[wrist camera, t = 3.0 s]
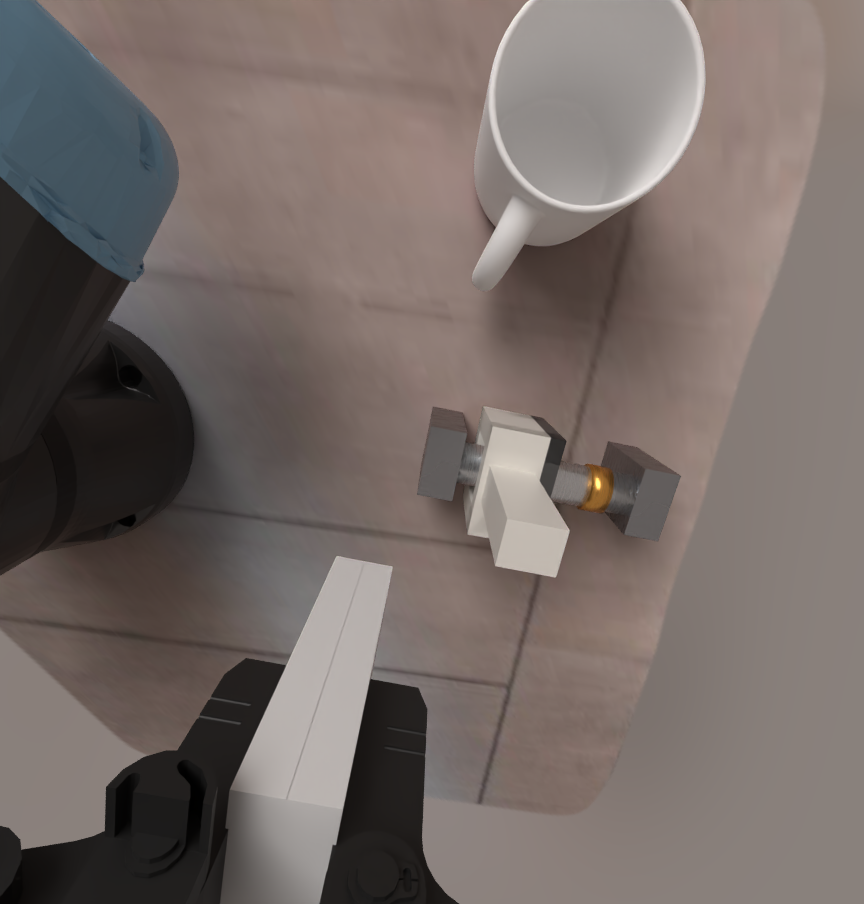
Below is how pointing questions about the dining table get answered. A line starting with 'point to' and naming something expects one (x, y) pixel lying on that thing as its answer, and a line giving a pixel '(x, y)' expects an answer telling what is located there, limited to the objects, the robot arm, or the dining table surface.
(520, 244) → the mug
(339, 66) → the dining table surface
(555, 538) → the sleeve
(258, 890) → the robot arm
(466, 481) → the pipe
